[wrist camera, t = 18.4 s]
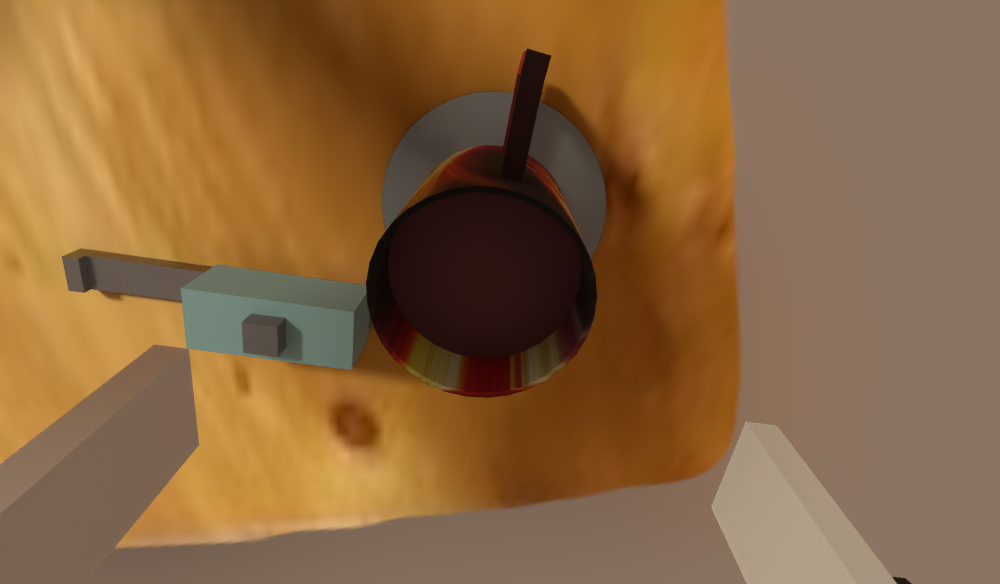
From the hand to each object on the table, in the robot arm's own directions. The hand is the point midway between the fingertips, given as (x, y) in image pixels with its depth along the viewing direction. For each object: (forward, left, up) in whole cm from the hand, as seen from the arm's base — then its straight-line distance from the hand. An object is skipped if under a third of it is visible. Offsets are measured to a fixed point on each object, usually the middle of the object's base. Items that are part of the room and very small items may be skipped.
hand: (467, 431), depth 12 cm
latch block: (+8, -12, -21) cm, 26 cm away
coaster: (0, 0, -22) cm, 22 cm away
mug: (-1, -1, -22) cm, 22 cm away
